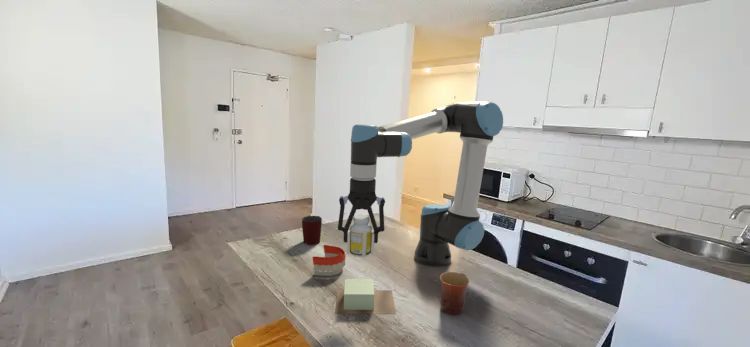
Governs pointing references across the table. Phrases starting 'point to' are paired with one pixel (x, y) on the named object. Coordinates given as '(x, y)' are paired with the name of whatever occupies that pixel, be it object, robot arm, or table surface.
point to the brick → (359, 294)
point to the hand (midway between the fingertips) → (360, 252)
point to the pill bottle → (360, 236)
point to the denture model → (329, 261)
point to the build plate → (381, 303)
